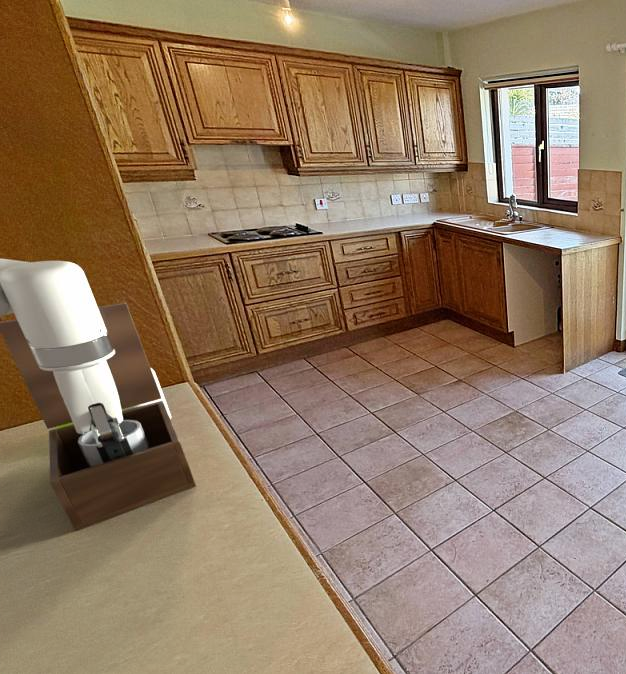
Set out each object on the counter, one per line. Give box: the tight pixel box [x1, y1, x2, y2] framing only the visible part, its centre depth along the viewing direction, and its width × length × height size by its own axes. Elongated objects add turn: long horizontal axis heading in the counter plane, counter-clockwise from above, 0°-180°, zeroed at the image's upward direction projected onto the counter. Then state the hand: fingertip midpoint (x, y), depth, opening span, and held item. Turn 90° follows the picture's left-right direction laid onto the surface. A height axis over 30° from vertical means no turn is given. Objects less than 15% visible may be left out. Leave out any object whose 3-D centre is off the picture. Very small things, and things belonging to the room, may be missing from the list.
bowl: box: [78, 420, 148, 467], centre depth 73 cm, size 7×7×4 cm
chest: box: [48, 401, 197, 532], centre depth 75 cm, size 17×14×9 cm
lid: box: [0, 302, 162, 430], centre depth 77 cm, size 18×14×5 cm
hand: (118, 452), depth 74 cm, fingers closed on bowl, 7 cm apart
